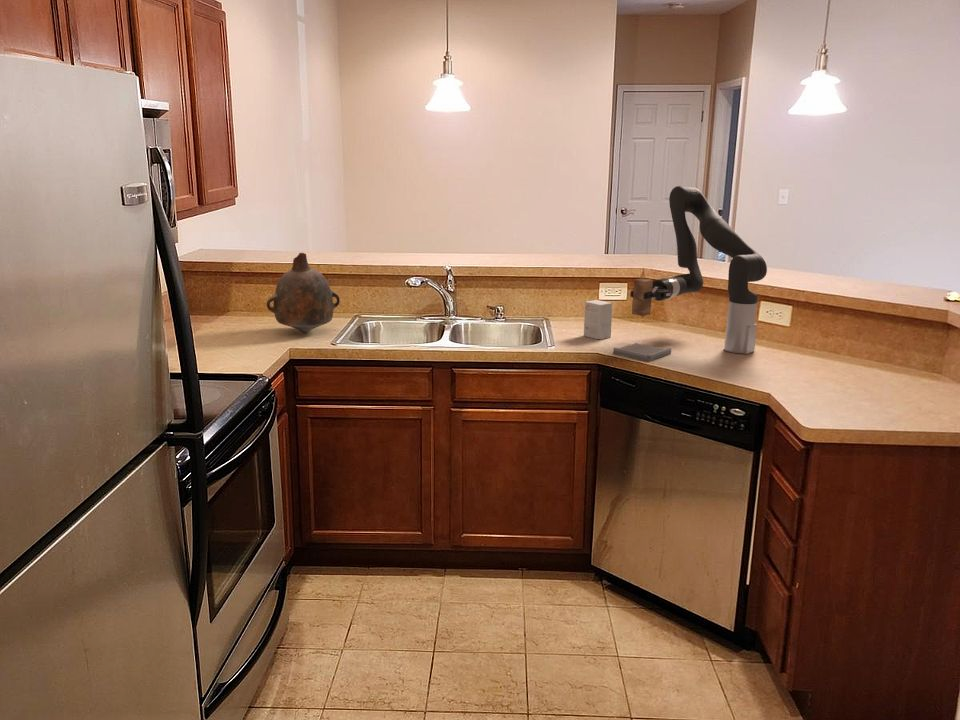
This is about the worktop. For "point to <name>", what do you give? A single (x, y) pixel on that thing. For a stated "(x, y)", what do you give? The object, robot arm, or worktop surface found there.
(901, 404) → the worktop surface
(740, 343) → the robot arm
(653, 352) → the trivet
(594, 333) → the small box
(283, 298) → the jug
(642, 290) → the walnut block
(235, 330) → the worktop surface
